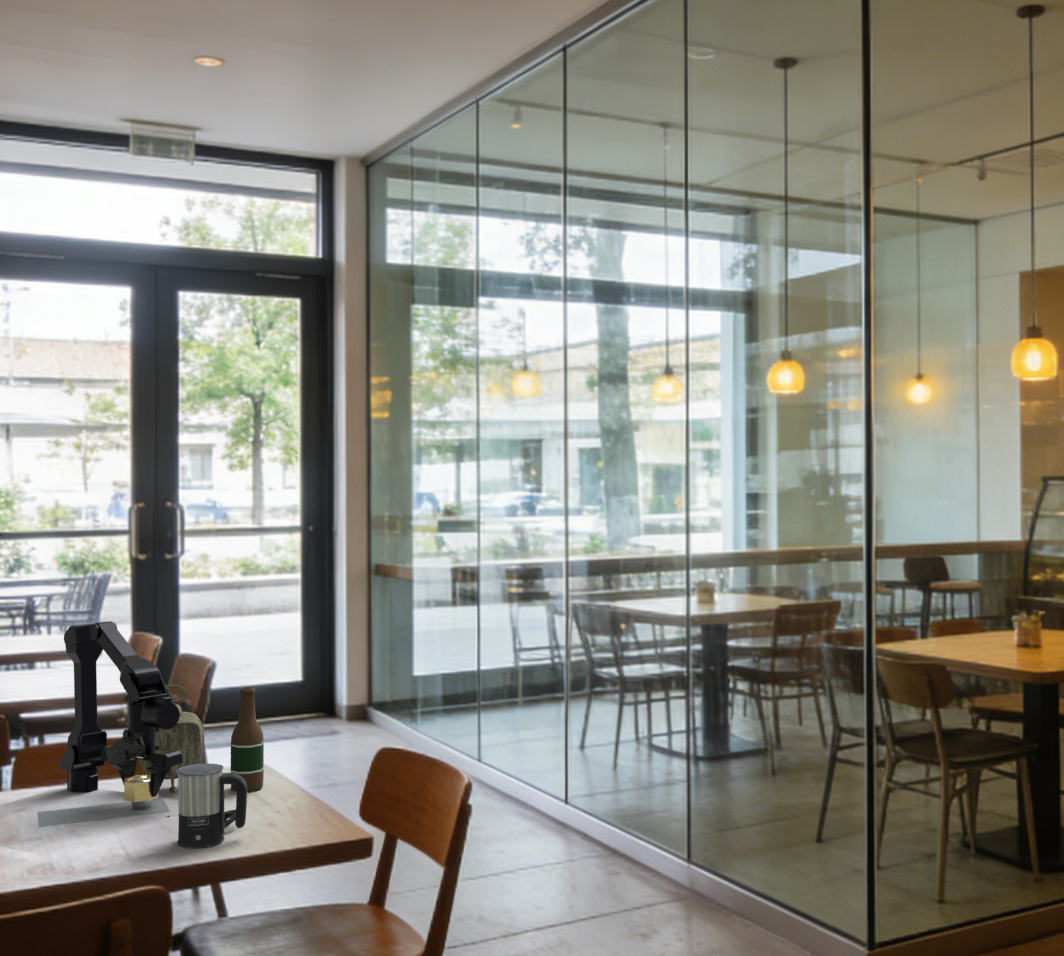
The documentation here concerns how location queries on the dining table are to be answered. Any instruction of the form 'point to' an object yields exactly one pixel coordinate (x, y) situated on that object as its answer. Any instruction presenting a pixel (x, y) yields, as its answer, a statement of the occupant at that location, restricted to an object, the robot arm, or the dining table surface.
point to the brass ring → (137, 789)
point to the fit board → (102, 811)
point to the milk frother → (207, 804)
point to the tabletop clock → (180, 741)
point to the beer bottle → (248, 744)
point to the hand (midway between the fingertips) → (141, 794)
